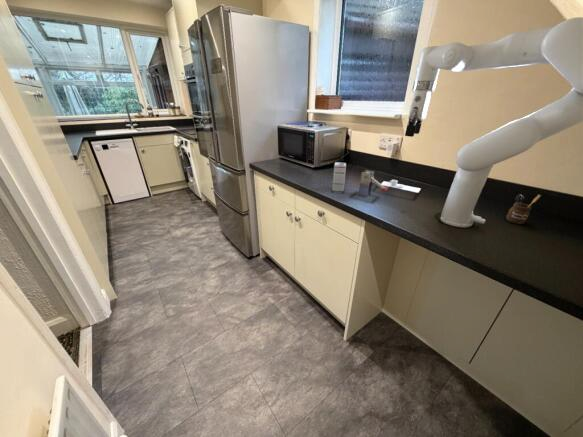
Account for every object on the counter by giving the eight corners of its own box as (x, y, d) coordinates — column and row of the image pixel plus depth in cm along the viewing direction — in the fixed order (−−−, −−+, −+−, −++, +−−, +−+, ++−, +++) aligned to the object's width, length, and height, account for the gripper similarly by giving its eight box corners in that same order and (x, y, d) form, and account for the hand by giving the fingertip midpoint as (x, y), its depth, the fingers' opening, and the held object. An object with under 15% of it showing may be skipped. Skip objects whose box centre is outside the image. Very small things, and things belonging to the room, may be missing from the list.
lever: (386, 190, 109) (389, 186, 108) (383, 193, 106) (386, 189, 104) (365, 174, 112) (368, 170, 111) (361, 177, 109) (364, 173, 107)
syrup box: (343, 193, 118) (346, 165, 112) (331, 192, 119) (334, 164, 113) (343, 189, 123) (346, 162, 117) (332, 188, 124) (334, 161, 118)
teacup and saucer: (404, 187, 127) (405, 180, 125) (400, 191, 121) (402, 184, 119) (387, 184, 132) (389, 177, 130) (383, 188, 126) (385, 181, 124)
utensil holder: (503, 216, 98) (516, 189, 92) (522, 219, 96) (537, 192, 90) (507, 222, 93) (521, 194, 88) (527, 225, 91) (543, 197, 85)
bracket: (378, 197, 115) (383, 172, 109) (371, 203, 109) (376, 176, 103) (357, 192, 121) (361, 167, 115) (349, 197, 114) (353, 172, 108)
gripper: (430, 86, 80) (417, 138, 88) (438, 87, 92) (426, 133, 100) (407, 86, 84) (396, 136, 92) (417, 87, 96) (407, 131, 104)
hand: (412, 134), depth 96 cm, fingers open, 9 cm apart
